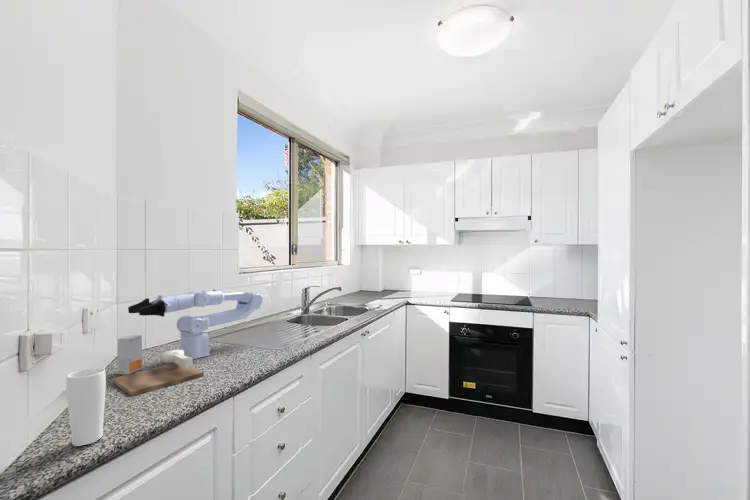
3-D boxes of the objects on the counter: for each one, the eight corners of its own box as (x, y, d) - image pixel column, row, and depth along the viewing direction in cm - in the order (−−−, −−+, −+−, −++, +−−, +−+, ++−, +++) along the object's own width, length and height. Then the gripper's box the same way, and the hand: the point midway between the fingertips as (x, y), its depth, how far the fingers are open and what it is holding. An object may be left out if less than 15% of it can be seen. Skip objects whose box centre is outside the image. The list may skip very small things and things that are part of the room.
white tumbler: (82, 434, 83) (80, 368, 82) (114, 432, 83) (112, 366, 83) (59, 451, 76) (57, 378, 76) (93, 448, 76) (92, 377, 76)
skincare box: (128, 375, 122) (127, 339, 122) (117, 374, 123) (116, 338, 123) (143, 369, 128) (142, 334, 128) (132, 368, 129) (131, 334, 129)
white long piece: (157, 360, 125) (157, 352, 125) (179, 355, 131) (178, 348, 131) (178, 369, 115) (177, 361, 115) (200, 364, 120) (200, 356, 120)
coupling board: (180, 365, 131) (180, 355, 131) (203, 375, 120) (203, 365, 120) (112, 382, 116) (111, 371, 116) (131, 396, 104) (131, 383, 104)
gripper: (163, 291, 140) (123, 297, 128) (184, 294, 132) (143, 301, 120) (164, 309, 140) (124, 317, 129) (185, 313, 132) (145, 322, 121)
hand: (134, 311), depth 125 cm, fingers open, 7 cm apart
